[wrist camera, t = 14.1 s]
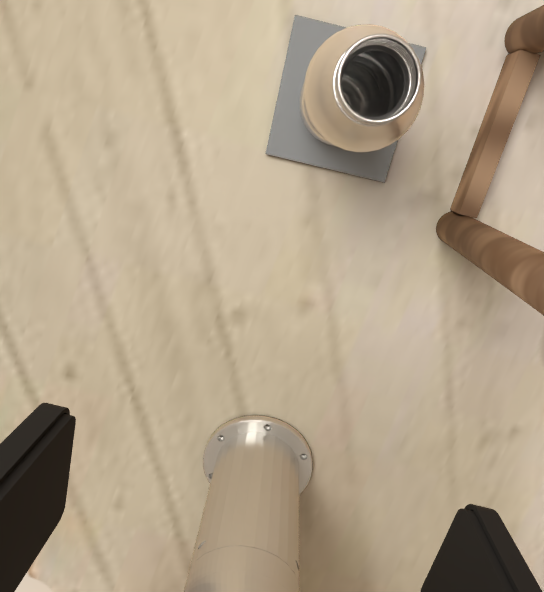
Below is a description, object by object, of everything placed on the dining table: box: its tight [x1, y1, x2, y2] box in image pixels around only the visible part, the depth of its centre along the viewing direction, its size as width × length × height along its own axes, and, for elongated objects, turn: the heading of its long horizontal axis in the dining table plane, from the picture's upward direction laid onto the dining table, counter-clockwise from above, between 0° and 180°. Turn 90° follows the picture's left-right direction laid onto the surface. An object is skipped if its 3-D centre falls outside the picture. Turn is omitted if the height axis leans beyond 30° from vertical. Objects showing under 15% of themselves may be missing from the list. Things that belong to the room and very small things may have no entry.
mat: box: [266, 15, 426, 183], centre depth 38 cm, size 11×11×1 cm
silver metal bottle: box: [300, 24, 424, 152], centre depth 29 cm, size 6×7×20 cm
